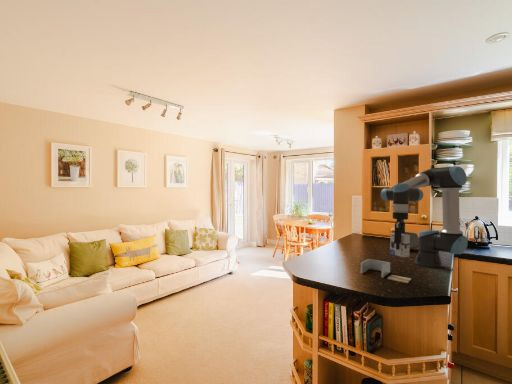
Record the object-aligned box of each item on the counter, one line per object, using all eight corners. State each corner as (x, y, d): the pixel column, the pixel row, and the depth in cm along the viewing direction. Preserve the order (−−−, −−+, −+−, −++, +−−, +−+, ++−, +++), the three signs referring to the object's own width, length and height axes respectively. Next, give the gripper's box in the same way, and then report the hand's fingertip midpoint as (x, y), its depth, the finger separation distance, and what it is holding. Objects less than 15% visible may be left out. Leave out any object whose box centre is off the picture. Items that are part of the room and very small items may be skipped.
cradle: (368, 268, 168) (368, 258, 168) (390, 272, 160) (390, 262, 160) (360, 273, 157) (360, 262, 157) (383, 277, 149) (383, 266, 149)
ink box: (389, 254, 149) (389, 232, 149) (395, 253, 151) (395, 232, 152) (403, 257, 142) (404, 234, 142) (409, 256, 144) (410, 234, 144)
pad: (391, 275, 153) (391, 274, 153) (411, 279, 147) (411, 278, 147) (387, 279, 146) (387, 278, 146) (407, 283, 140) (407, 282, 140)
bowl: (422, 250, 232) (423, 233, 232) (411, 252, 220) (411, 234, 221) (399, 246, 249) (399, 230, 249) (386, 248, 237) (387, 231, 238)
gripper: (397, 211, 157) (396, 250, 156) (388, 212, 142) (387, 255, 141) (411, 211, 152) (411, 252, 152) (404, 212, 137) (403, 258, 137)
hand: (399, 254), depth 146 cm, fingers closed on ink box, 7 cm apart
